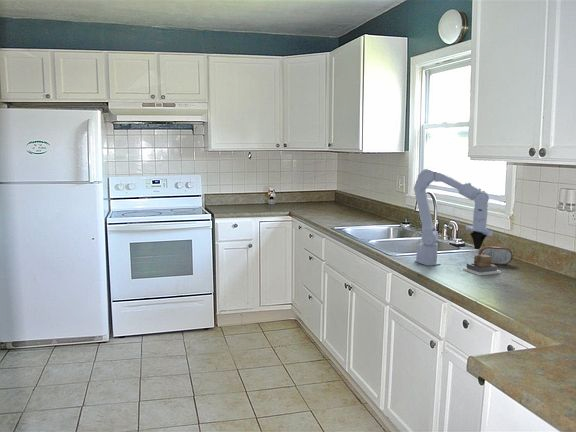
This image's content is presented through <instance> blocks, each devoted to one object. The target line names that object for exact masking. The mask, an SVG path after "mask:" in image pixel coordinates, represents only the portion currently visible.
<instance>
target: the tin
mask: <svg viewBox="0 0 576 432" xmlns="http://www.w3.org/2000/svg"><path fill="white" fill-rule="evenodd" d="M478 250H479V251H478V255H488V256H492V258H491V264H492V265H499V264H502V265H503V266H505V265H508V264H509V263H511V262H512V260H513V257H514V255H513V252H512V250H511V249H510V248H509V247H506V246H500V245H496V246H495V245H485V246H481V248H480V249H478ZM502 265H501V266H502Z"/></svg>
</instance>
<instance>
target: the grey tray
mask: <svg viewBox="0 0 576 432" xmlns="http://www.w3.org/2000/svg"><path fill="white" fill-rule="evenodd" d="M462 271H464V272H467V273H471V274H473V275H476V276H486V275H494V274H495V275H497V274H501V270H499V269H498V265H497V264H491V266H487V267H478V266H475V265H474V262H469V263H466V266H465V267H463V268H462Z"/></svg>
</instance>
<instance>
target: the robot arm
mask: <svg viewBox="0 0 576 432" xmlns="http://www.w3.org/2000/svg"><path fill="white" fill-rule="evenodd" d="M433 182H434V183H436V182H440V183H444V184H445V185H448V186H450V187H452V188H453V189H456V190H457V191H458V194H459V195H461V196H462V197H465V198H467V199H468V200H470V201H473V202H474V208H473V217H472V225H465V230H466V231H470V237H471V238H472V241H473V242H472V243H473V248H474V249H475V250H480V249H481V248H482V245H483V242H484V240H485V239H486V237H493V235H494V234H493V233H494V230H489V229H488V228H487V222H488V221H487V220H488V212H489V211H488V206H489V205H488V202H489V200H490V196H489V194H488V193H487V192H486V191H485V190H482V188H477V187H475V186H474V185H472V183H471V182H468V183H467V182H463V183H462V182H461V181H460V182H459V181H458V180H457V179H455V178H453V177H452V176H449V175H448V174H446V173H444V172H443V171H440V170H438V169H435V168H433V167H427V168H424V169H422V170H421V171H420V173H419V174H418V175H417V178H416V182H415V184H414V186H413V190H414V195H415V199H416V203H417V209H418V212H419V218H420V221H421V234H422V235H421V241H422V242H420V243H419V244H418V245H417V247H416V257H415V259H414V262H415V263H418V264H422V265H424V266H427V267H428V266H438V265H441V263H440V262H438V249H439V248H438V247H439V246H438V242H437V241H438V240H439V235H440V234H439V232H438V231H437V230H436V226H435V224H434V221H433V218H432V214H431V209H430V205H429V200H428V196H427V188H428V187H429V186H430V185H431V183H433Z"/></svg>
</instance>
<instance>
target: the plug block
mask: <svg viewBox="0 0 576 432" xmlns="http://www.w3.org/2000/svg"><path fill="white" fill-rule="evenodd" d="M473 257H474V258H473V263H474V265H475V266H478V267H487V266H491V258H492V256H488V255H475V254H474V256H473Z"/></svg>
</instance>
